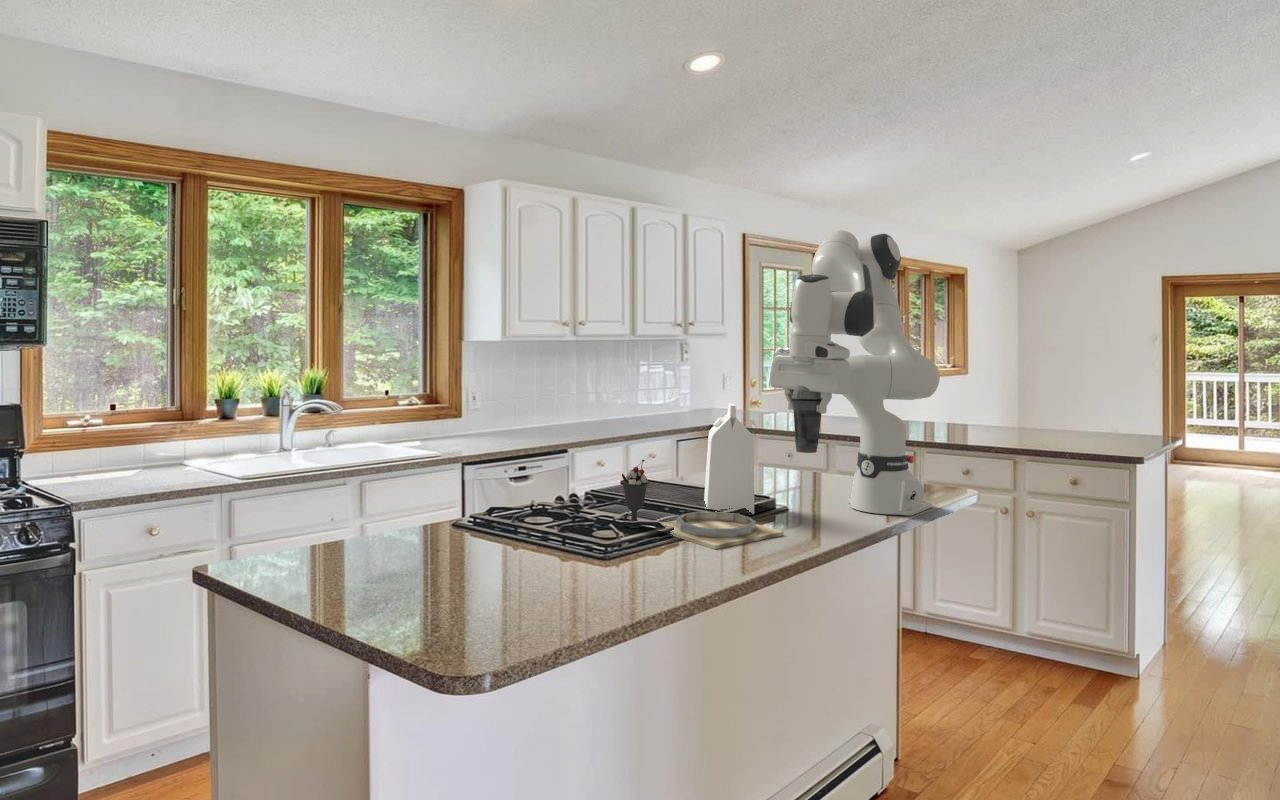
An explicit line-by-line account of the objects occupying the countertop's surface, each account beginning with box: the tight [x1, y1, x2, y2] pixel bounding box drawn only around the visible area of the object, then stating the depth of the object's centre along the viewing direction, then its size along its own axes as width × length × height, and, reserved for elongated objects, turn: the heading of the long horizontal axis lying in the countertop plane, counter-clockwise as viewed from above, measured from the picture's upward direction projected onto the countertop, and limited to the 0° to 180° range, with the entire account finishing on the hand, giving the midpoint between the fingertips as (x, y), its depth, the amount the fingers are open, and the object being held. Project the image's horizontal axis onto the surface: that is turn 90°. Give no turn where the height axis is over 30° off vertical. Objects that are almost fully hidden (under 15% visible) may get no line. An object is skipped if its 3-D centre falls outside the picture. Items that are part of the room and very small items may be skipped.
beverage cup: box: [791, 386, 822, 454], centre depth 191 cm, size 7×7×20 cm
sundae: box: [619, 459, 650, 522], centre depth 194 cm, size 7×7×15 cm
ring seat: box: [661, 511, 785, 550], centre depth 191 cm, size 21×21×3 cm
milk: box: [703, 403, 755, 515], centre depth 215 cm, size 12×12×26 cm
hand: (806, 411), depth 191 cm, fingers closed on beverage cup, 6 cm apart
